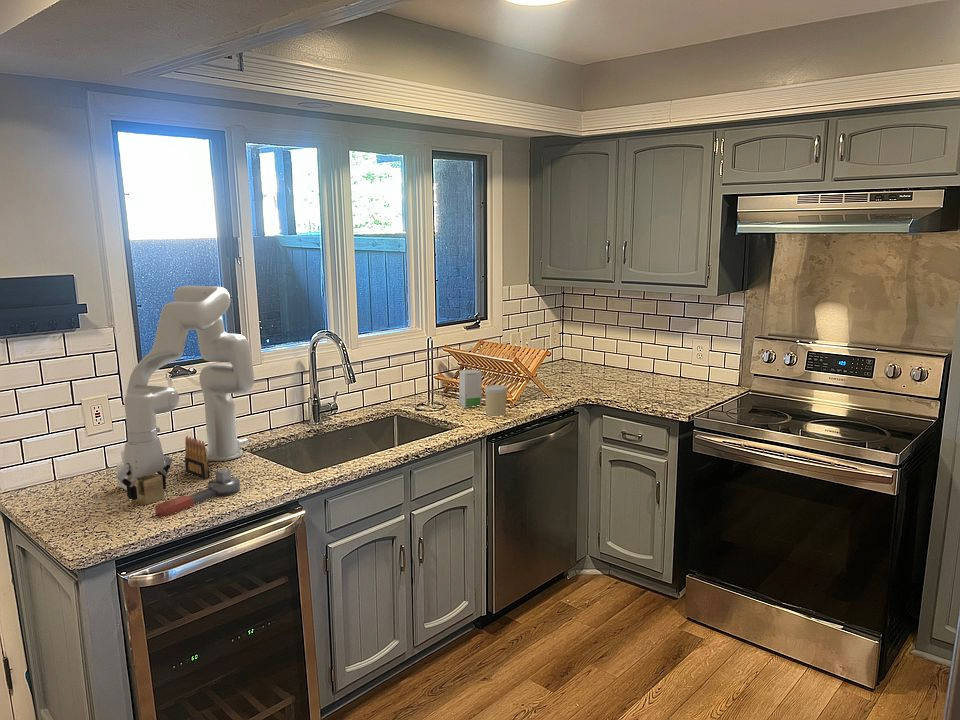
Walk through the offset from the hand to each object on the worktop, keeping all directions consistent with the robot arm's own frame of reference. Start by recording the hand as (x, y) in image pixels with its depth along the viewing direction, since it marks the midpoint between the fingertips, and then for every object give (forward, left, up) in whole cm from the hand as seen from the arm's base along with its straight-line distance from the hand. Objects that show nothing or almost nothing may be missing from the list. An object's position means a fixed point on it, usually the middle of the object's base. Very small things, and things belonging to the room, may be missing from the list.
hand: (147, 493), depth 208 cm
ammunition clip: (-21, -5, -2) cm, 22 cm away
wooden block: (0, 0, -2) cm, 2 cm away
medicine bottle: (-5, -13, -2) cm, 14 cm away
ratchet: (-8, +13, -2) cm, 15 cm away
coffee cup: (-130, +42, -2) cm, 137 cm away
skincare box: (-138, +25, -2) cm, 140 cm away
